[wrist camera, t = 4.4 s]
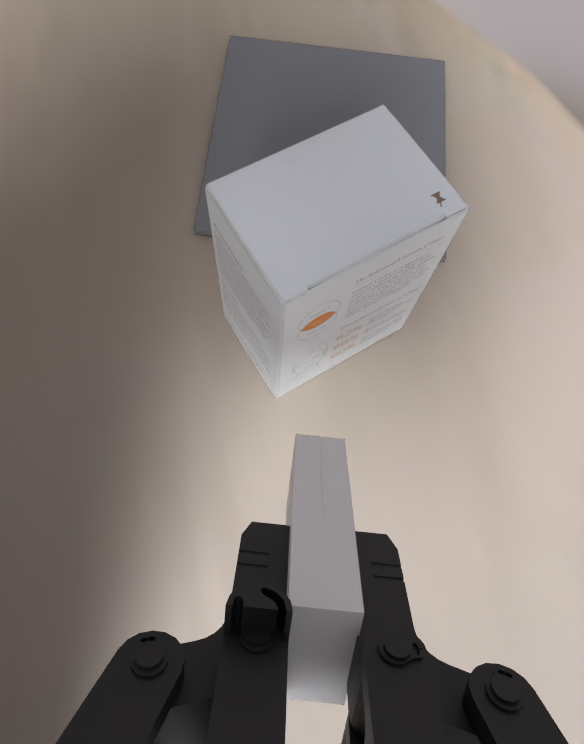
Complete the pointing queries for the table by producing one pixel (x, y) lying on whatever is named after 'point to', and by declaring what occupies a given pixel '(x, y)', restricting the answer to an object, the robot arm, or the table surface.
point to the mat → (315, 102)
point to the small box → (328, 244)
